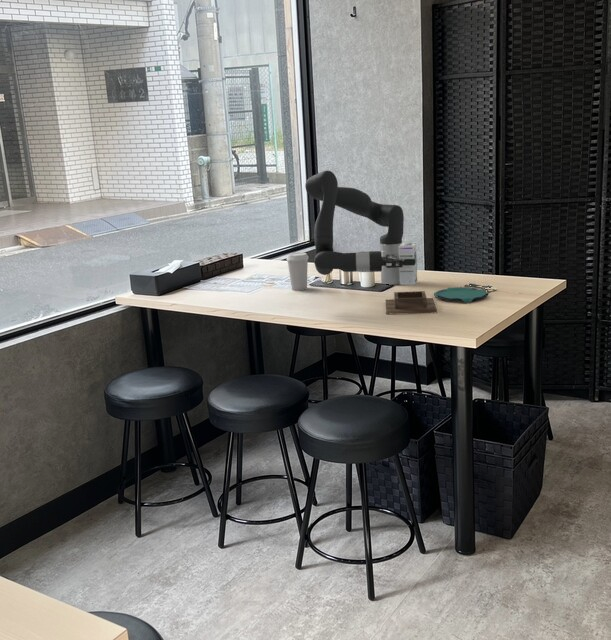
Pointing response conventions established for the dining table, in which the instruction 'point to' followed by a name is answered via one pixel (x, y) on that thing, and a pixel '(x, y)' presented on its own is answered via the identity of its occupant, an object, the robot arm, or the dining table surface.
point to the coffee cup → (298, 270)
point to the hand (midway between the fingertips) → (414, 260)
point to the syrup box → (409, 271)
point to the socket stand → (410, 303)
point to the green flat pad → (462, 293)
